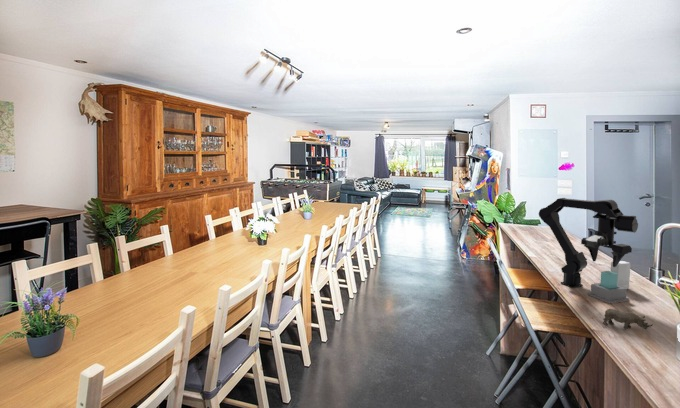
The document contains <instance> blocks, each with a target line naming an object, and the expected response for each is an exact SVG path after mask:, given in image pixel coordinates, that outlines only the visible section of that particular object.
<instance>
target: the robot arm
mask: <svg viewBox="0 0 680 408" xmlns="http://www.w3.org/2000/svg"><path fill="white" fill-rule="evenodd" d="M564 208H570V209H579V210H588V211H592V212H594V213H596V214H594V215H593V216H592V218H593V219H598V220H597V221H598V222H597V230H595V231H594V234H593V235H590V236H588V237H582V239H581V241H580V244H581V245H583V246H584V247H585V248H586V249H587V250H588V251H589V253H590V254H589V255H590V257H591V259H592V262H596V261H597V259H598V254H599V248H600V247H603V248H608V249H610V250H612V251H610V253H611V254H612V262H613V267H616V266H617V264H618V263H619V261H622V259H623V257H624V256H626V255H628V254H629V253H632V249H633V247H632V246H631V245H628V244H624V243H617V241H616V240H614V239H615V235H617V231H619V232H627V233H634V234H635V233H637V230H638V228H639V223H638V219H637V216H636V215H624V213H623V212H622V211H621V209H620V208H619V206H618V203H617V202H616V201H615V200H613V199H602V200H587V199H575V198H566V197H560V198H557V199H556V200H554V201H553V202H551V203H550V204H549V205H546V207H543V208H541V209H540V210H539V212H538V217H539V218H540V220H541V221H543V223H544V224H546V225H547V226H548V227H549V228H550V230H551V232H552V233H553V236H554V237H555V239H556V240H557V242H558V244H559V247H560V248H561V249H562V251H563V253H564V260H565V263H566V265H564V266H563V267H561V268H560V269H561V272H562V273H563V279H562V280H563V281H560V284H561V285H564V286H568V287H570V288H577V287H583V285H584V284H582V277H581V273H580V272H582V271H583V270H584V269H586V267H587V266H588V258H586V256H585V253H584V252H583V251H580V252H579V251H577V250H576V248H575V246H574V245H573V243H572V242H571V240H570V237H569V236H568V234H567V233H566V231H565V229H564V228H563V226H562V224H561V220H560V215H559V213H560V212H561V211H562V210H563V209H564ZM615 230H616V231H615ZM616 243H617V244H616Z"/></svg>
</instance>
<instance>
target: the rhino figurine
mask: <svg viewBox="0 0 680 408" xmlns="http://www.w3.org/2000/svg"><path fill="white" fill-rule="evenodd" d="M645 318H646V316H645V315H643V316H640V315H638V314H636V313H634V312H629V311H627V312H625V311H620V310H618V309H614V308H609V309H606V310H605V311H604V318H603V319H602V320H603V322H602V324H603V325H605V326H609V324H611V325H613V324H615V323H614V322H613V321H615V322H617V323H620V324H624V325H623V326H622V328H623V329H624V330H628V331H629V328H630V329H631V328H632V326H631V325H632V324H637V326H638V327H639V328H642V329H644V330H647V329H648V328H651V327H653V326H654V324H653V323H652V324H649V322H645V321H646V319H645Z"/></svg>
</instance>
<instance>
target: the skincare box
mask: <svg viewBox="0 0 680 408" xmlns="http://www.w3.org/2000/svg"><path fill="white" fill-rule="evenodd" d="M610 271H611V272H614V273H618V276H617V285H618V286H621V287H624V288H627V289H630V275H631V262H628V261H624V260H620V261H619V263H618V264H617V266H616V267H613V261H611V262H610Z"/></svg>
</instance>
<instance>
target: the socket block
mask: <svg viewBox="0 0 680 408" xmlns="http://www.w3.org/2000/svg"><path fill="white" fill-rule="evenodd" d="M627 291H628V290H627V288H624V287H621V286H618V285H617V288H615V289H607V288H605V287H602V286H600V282H597V283H590V292H589V291H588V292H587V296H589V297H592V298H595V299H597V300H600V301H603V302H605V303H608V304H616V303H620V302H621V303H623V302H627V301H630V297H627Z"/></svg>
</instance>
